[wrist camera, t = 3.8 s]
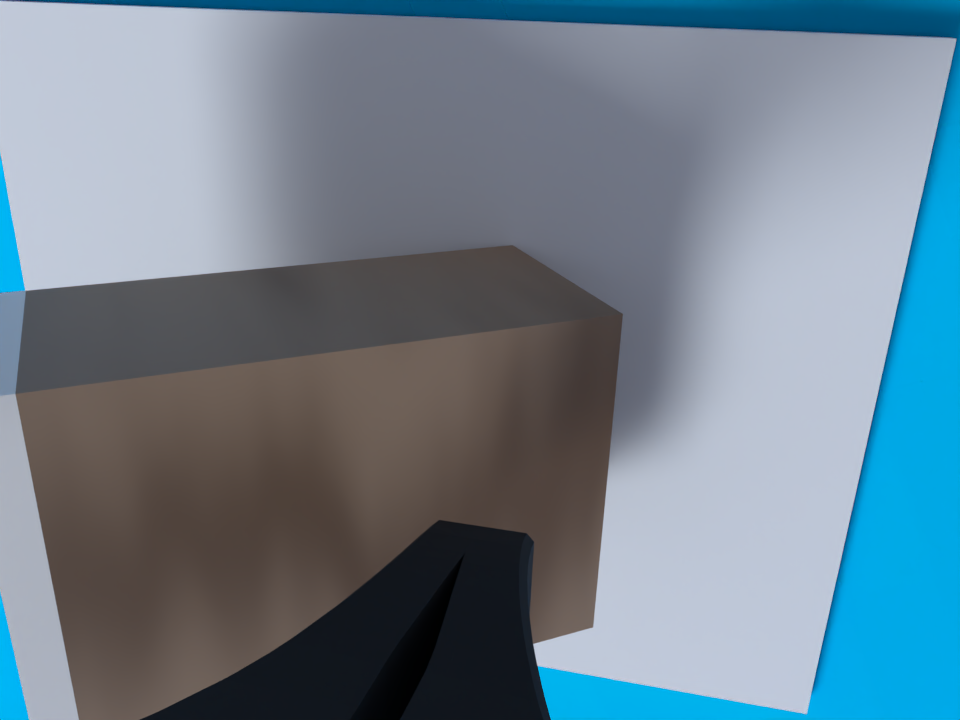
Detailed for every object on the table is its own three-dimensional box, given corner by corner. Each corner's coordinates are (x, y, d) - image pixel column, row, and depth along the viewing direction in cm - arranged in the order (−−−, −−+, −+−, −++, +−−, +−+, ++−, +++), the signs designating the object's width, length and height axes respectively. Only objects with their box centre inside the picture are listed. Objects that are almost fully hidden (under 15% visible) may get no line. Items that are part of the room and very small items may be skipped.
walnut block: (593, 627, 16) (43, 779, 13) (501, 512, 20) (46, 610, 16) (622, 313, 14) (-42, 401, 10) (512, 245, 17) (-18, 294, 14)
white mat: (804, 700, 20) (806, 714, 20) (88, 574, 24) (78, 583, 23) (950, 37, 15) (956, 38, 14) (-13, -1, 18) (-28, -1, 18)
